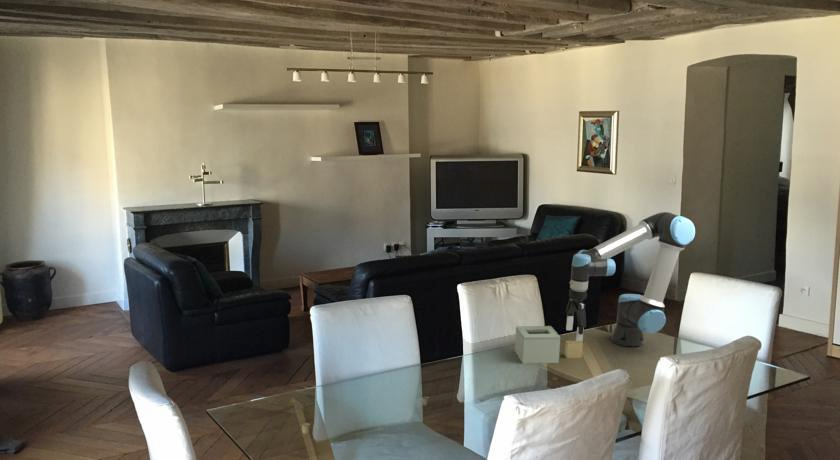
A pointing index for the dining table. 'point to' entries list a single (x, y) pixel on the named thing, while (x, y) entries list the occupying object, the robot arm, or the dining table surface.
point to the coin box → (537, 344)
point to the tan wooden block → (573, 349)
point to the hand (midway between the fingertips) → (574, 335)
